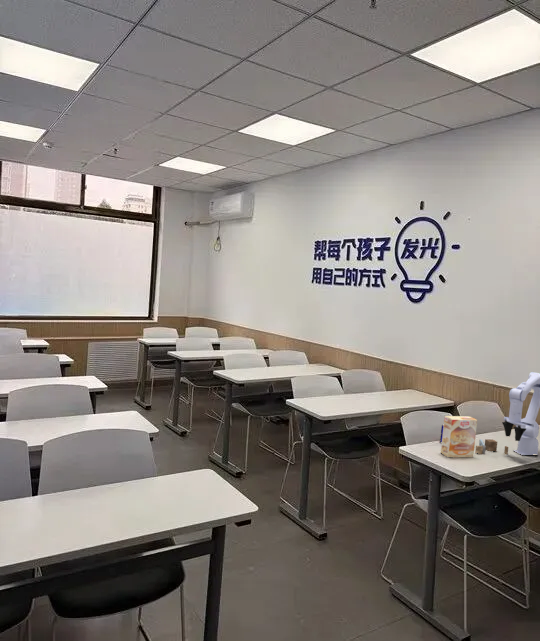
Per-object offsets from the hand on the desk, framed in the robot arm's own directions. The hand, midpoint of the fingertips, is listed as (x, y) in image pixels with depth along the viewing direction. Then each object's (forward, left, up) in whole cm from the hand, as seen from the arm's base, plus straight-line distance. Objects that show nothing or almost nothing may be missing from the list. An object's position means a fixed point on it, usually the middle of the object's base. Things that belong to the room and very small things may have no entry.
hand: (512, 438), depth 264 cm
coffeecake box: (+28, -4, -11) cm, 30 cm away
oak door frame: (+6, -7, -10) cm, 14 cm away
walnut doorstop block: (+3, -12, -10) cm, 16 cm away
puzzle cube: (+19, -25, -11) cm, 33 cm away
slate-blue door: (+8, -12, -10) cm, 18 cm away
